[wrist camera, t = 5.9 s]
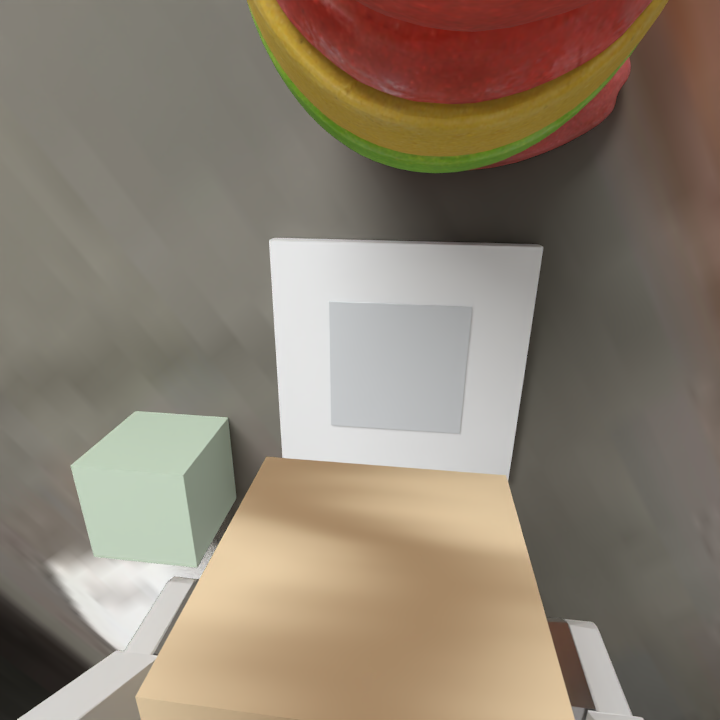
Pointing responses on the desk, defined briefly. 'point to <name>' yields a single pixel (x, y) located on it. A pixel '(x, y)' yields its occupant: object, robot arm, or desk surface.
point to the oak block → (363, 605)
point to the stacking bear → (454, 73)
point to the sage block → (157, 488)
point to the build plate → (402, 350)
